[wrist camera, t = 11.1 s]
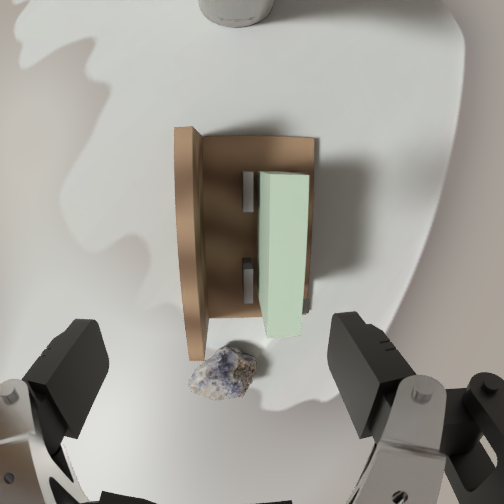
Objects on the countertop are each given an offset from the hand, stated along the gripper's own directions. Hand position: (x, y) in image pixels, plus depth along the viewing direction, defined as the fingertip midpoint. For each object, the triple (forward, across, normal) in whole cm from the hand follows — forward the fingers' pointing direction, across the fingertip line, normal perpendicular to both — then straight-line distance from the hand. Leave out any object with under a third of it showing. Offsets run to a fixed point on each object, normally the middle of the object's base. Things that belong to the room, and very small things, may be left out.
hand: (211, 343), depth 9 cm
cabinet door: (+25, -5, +3) cm, 26 cm away
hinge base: (+26, -3, +3) cm, 26 cm away
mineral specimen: (+26, +2, +22) cm, 34 cm away
